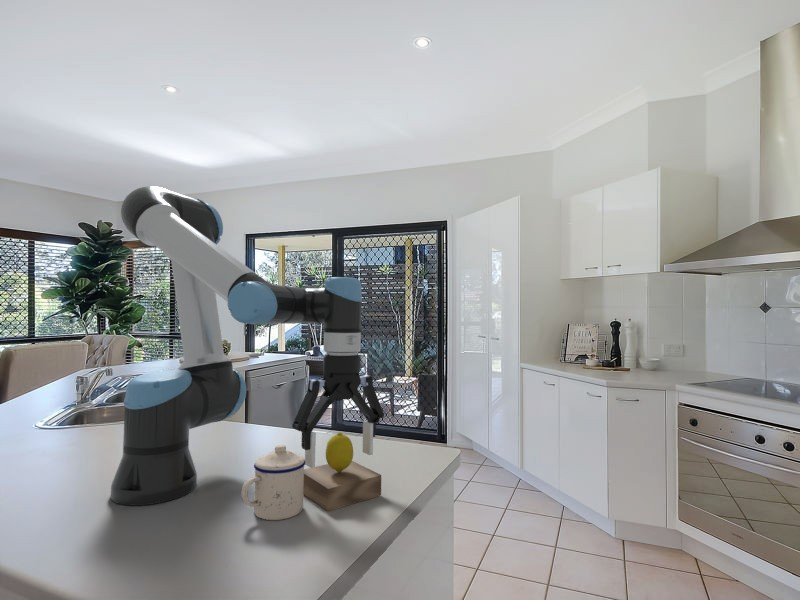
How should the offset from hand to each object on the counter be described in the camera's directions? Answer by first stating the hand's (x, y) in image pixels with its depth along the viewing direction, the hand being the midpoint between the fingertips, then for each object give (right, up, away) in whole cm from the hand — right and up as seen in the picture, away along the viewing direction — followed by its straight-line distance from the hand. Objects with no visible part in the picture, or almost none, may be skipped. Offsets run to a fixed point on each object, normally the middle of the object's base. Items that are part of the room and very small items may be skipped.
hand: (340, 459), depth 90 cm
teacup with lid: (-11, -6, -10) cm, 16 cm away
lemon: (0, -3, 0) cm, 3 cm away
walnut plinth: (0, -7, 0) cm, 7 cm away
